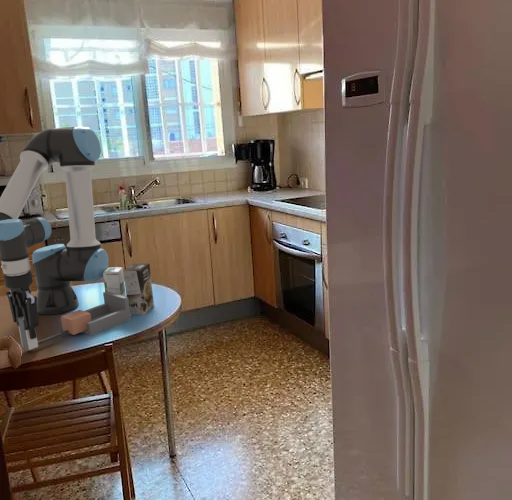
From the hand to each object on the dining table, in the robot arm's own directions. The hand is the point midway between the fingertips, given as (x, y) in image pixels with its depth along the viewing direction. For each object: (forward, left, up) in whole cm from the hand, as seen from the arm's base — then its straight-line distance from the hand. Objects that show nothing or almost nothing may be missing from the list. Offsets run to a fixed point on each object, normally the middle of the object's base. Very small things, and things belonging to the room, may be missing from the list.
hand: (30, 346), depth 167 cm
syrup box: (-8, +38, -2) cm, 39 cm away
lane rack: (0, +25, -2) cm, 25 cm away
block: (0, +9, -1) cm, 9 cm away
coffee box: (+2, +41, -2) cm, 41 cm away
